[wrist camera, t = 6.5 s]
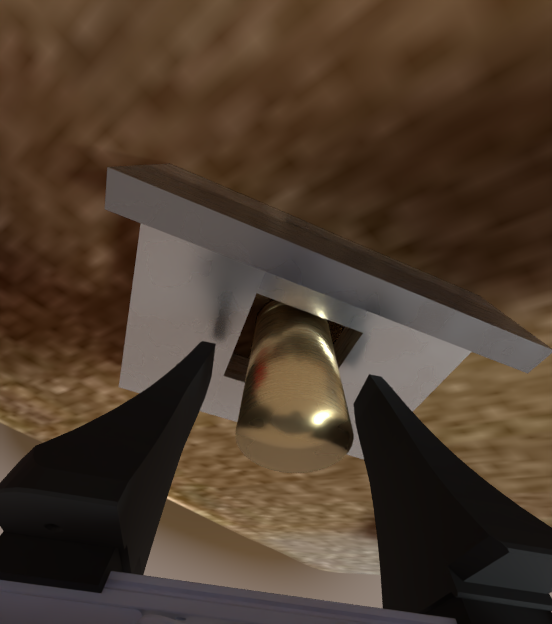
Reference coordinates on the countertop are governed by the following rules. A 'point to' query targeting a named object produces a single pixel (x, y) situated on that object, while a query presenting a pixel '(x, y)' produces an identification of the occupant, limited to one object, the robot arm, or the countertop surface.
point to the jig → (287, 294)
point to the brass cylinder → (293, 394)
